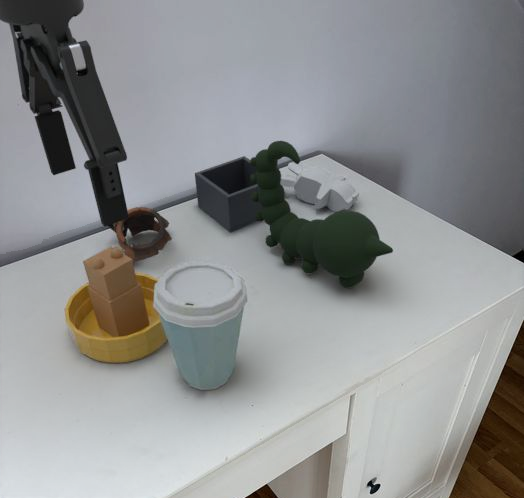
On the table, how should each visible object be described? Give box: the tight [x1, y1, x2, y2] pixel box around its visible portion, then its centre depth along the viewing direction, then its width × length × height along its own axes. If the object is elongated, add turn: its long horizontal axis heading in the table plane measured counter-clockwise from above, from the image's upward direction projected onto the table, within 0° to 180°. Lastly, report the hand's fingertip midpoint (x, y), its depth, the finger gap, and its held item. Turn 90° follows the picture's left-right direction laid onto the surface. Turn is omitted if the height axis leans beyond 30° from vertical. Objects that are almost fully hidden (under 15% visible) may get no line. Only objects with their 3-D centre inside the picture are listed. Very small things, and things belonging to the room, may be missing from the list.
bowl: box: [64, 272, 168, 364], centre depth 77 cm, size 14×14×4 cm
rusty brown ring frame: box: [107, 206, 173, 264], centre depth 91 cm, size 12×10×8 cm
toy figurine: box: [250, 140, 394, 289], centre depth 82 cm, size 9×19×25 cm
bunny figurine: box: [280, 161, 360, 213], centre depth 101 cm, size 10×5×15 cm
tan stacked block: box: [82, 246, 149, 337], centre depth 74 cm, size 5×5×12 cm
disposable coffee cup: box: [153, 260, 249, 391], centre depth 67 cm, size 11×11×15 cm
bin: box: [194, 155, 262, 233], centre depth 98 cm, size 10×10×7 cm
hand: (88, 194), depth 62 cm, fingers open, 13 cm apart
